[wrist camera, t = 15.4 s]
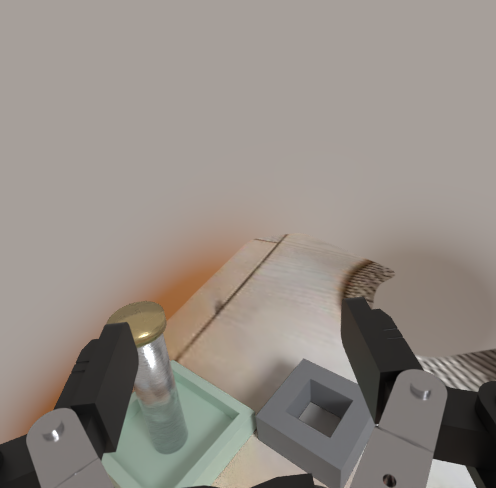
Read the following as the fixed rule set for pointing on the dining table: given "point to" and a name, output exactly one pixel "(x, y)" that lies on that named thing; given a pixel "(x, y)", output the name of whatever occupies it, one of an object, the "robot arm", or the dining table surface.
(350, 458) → the socket block
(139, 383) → the steel pin
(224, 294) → the dining table surface
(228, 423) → the tray
